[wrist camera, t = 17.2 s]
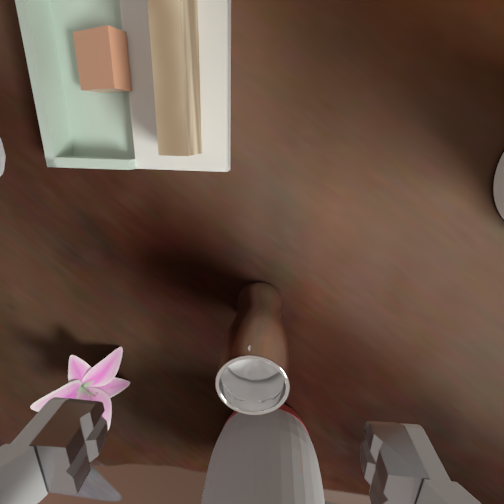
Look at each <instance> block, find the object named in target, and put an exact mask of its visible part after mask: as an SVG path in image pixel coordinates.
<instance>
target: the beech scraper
mask: <svg viewBox="0 0 504 504" xmlns="http://www.w3.org/2000/svg"><path fill="white" fill-rule="evenodd" d="M147 2H148V16H149V30H150V43H151V57H152V71H153V84H154V98H155V112H156V126H157V139H158V153H159V155H164V156H191V155H196V154H202V140H201V103H200V66H199V29H198V0H147Z"/></svg>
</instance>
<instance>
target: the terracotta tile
mask: <svg viewBox="0 0 504 504" xmlns="http://www.w3.org/2000/svg"><path fill="white" fill-rule="evenodd" d="M73 37H74V44H75V51H76V58H77V65H78V72H79V79H80V86H81V90H82V91H89V92H95V93H109V92H127V91H132V90H131V80H130V69H129V58H128V47H127V36H126V32H125V31H122V30H119V29H117V28H114V27H111V26H109V25H106V26H101V27H96V28H91V29H86V30H81V31H76V32H73Z"/></svg>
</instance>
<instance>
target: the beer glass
mask: <svg viewBox="0 0 504 504" xmlns="http://www.w3.org/2000/svg"><path fill="white" fill-rule="evenodd" d="M282 307H283V301H282V297H281V295H280V293H279V291H278V290H277V289H276V288H275V287H273V286H272V285H270V284H267V283H263V282H255V283H251V284H249V285H247V286H245V287H244V288H243V289H242V290H241V291H240V293H239V295H238V297H237V311H238V312H237V314H236V316H235V318H234V320H233V321H232V323H231V325H230V327H229V328H228V331H227V333H226V335H225V337H224V340H223V343H222V347H221V351H220V356H219V362H218V370H217V376H216V381H215V385H216V391H217V393H218V395H219V397H220V399H221V400H222V401H223V402H224V403H225V404H226V405H227V406H228V407H230V408H231V409H233V410H235V411H237V412H240V413H243V414H248V415H262V414H267V413H270V412H272V411H274V410H276V409H278V408H279V407H280V406H281V405H282V404H283V403H284V402H285V401H286V399H287V397H288V395H289V391H290V383H289V382H290V351H289V343H288V339H287V336H286V332H285V329H284V327H283V324H282V321H281V318H280V314H281V311H282Z"/></svg>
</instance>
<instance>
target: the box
mask: <svg viewBox="0 0 504 504" xmlns="http://www.w3.org/2000/svg"><path fill="white" fill-rule="evenodd" d="M15 4H16V9H17V14H18V19H19V24H20V29H21V34H22V40H23V45H24V50H25V55H26V60H27V65H28V71H29V76H30V81H31V86H32V91H33V96H34V101H35V107H36V112H37V117H38V122H39V127H40V132H41V138H42V143H43V148H44V153H45V158H46V163H47V167H65V168H92V169H120V170H132V169H136V162H135V152H134V142H133V132H132V121H131V111H130V101H129V91H127V92H109V93H95V92H89V91H82V90H81V86H80V79H79V72H78V65H77V58H76V51H75V44H74V37H73V32H76V31H81V30H86V29H91V28H96V27H101V26H106V25H109V26H111V27H114V28H117V29H119V30H122V19H121V9H120V0H15ZM122 31H123V30H122Z"/></svg>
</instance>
